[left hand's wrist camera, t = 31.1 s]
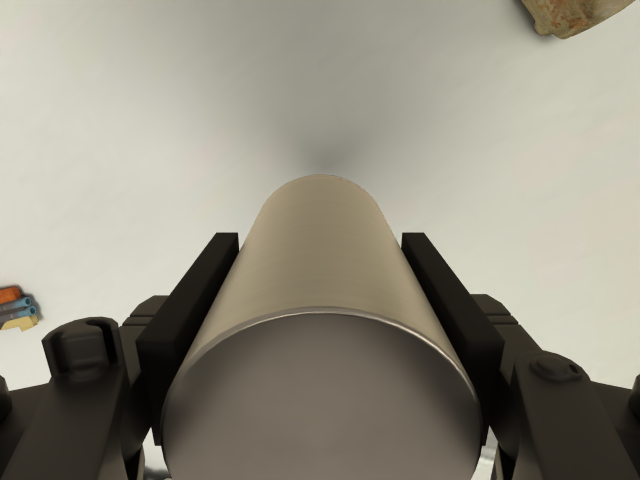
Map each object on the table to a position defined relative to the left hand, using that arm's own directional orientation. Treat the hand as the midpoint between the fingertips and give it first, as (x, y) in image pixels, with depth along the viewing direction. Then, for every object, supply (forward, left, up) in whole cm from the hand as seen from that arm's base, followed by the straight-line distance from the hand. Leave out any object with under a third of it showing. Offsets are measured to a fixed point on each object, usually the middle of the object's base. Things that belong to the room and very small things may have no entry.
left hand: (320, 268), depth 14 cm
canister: (0, 0, -3) cm, 3 cm away
